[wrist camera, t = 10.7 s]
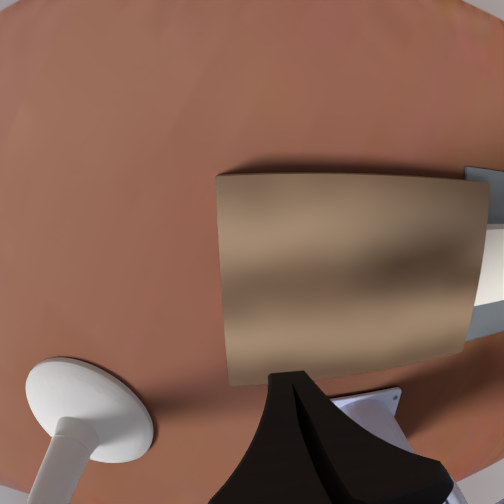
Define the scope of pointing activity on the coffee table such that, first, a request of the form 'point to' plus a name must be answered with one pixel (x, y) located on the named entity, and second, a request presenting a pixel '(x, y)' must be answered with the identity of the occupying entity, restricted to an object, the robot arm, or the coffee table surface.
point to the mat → (499, 212)
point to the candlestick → (82, 423)
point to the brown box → (346, 270)
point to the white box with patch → (492, 267)
